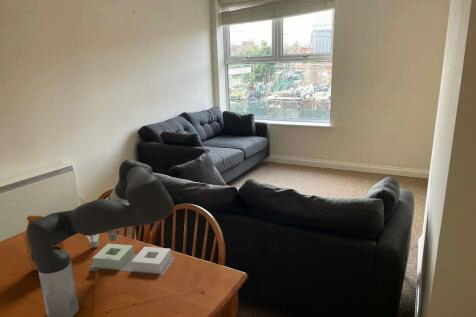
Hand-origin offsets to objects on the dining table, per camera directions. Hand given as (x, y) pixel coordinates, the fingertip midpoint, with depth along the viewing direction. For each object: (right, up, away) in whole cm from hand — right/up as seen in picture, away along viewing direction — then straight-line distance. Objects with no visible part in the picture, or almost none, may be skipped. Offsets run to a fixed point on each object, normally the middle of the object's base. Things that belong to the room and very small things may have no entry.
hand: (108, 220), depth 141 cm
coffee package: (-23, -19, +2) cm, 30 cm away
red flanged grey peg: (+2, -7, +1) cm, 8 cm away
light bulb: (-12, -15, +17) cm, 25 cm away
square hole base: (+9, -18, +2) cm, 20 cm away
